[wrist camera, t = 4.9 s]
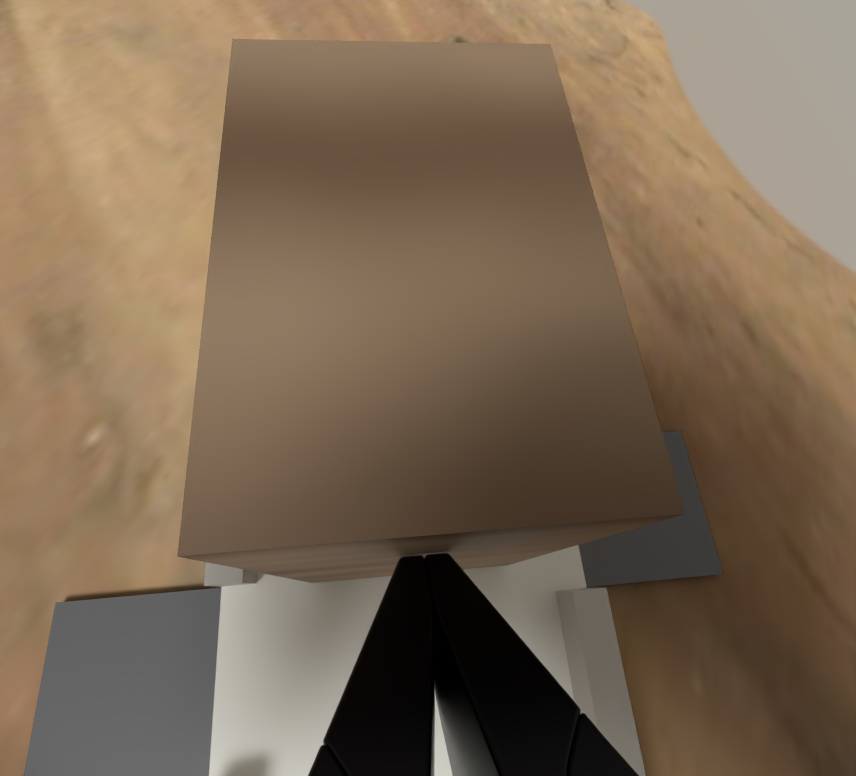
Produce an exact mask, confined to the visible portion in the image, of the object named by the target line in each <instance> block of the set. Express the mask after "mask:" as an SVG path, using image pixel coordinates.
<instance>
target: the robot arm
mask: <svg viewBox="0 0 856 776" xmlns="http://www.w3.org/2000/svg"><path fill="white" fill-rule="evenodd" d="M435 694H436V700H437V706H438V711H439V716H440V720H441V725H442V729H443V734H444V738H445V743H446V748H447V752H448V757H449V761H450V766H451V770H452V775H453V776H639V775H638V774H637V773H636V772H635V770H634V769H633V768H632V767H631V766H630V765H629V764H628V763H627V762H626V760H625V759H624V758H623V757H622V756H621V755H620V754H619V753H618V751H617V750H616V749H615V748H614V747H613V746H612V745H611V744H610V742H609V741H608V740H607V739H606V738H605V737H604V736H603V734H602V733H601V732H600V731H599V730H598V728H597V727H596V726H595V725H594V724H593V723H592V721H591V720H590V719H589V718H588V717H587V715H586V714H585V713H581V714H580V712H581V710H580V708H579V706H578V705H577V704H576V703H575V702H574V700H573V699H572V698H571V697H570V696H569V694H568V693H567V692H566V691H565V690H564V689H563V687H562V686H561V685H560V684H559V683H558V682H557V680H556V679H555V678H554V677H553V676H552V674H551V673H550V672H549V671H548V670H547V669H546V667H545V666H544V665H543V664H542V663H541V661H540V660H539V659H538V658H537V657H536V656H535V654H534V653H533V652H532V651H531V650H530V648H529V647H528V646H527V645H526V644H525V643H524V641H523V640H522V639H521V638H520V637H519V635H518V634H517V633H516V632H515V631H514V630H513V628H512V627H511V626H510V625H509V624H508V623H507V621H506V620H505V619H504V618H503V617H502V615H501V614H500V613H499V612H498V611H497V610H496V608H495V607H494V606H493V605H492V604H491V602H490V601H489V600H488V599H487V598H486V597H485V595H484V594H483V593H482V592H481V591H480V589H479V588H478V587H477V586H476V585H475V584H474V582H473V581H472V580H471V579H470V578H469V576H468V575H467V574H466V573H465V572H464V571H463V569H462V568H461V567H460V566H459V565H458V564H457V562H456V561H455V560H454V559H453V558H452V556H451V555H450V554H448V553H438V554H428V555H426V557H425V559H424V557H423V556H422V555H415V556H403V557H401V558H400V559H399V560H398V563H397V565H396V567H395V570H394V572H393V575H392V577H391V579H390V582H389V584H388V586H387V589H386V591H385V594H384V596H383V598H382V601H381V603H380V606H379V608H378V610H377V613H376V615H375V618H374V620H373V622H372V625H371V627H370V629H369V632H368V634H367V637H366V639H365V641H364V644H363V646H362V649H361V651H360V653H359V656H358V658H357V661H356V663H355V665H354V668H353V670H352V672H351V675H350V677H349V680H348V682H347V684H346V687H345V689H344V692H343V694H342V696H341V699H340V701H339V704H338V706H337V708H336V711H335V713H334V716H333V718H332V720H331V723H330V725H329V727H328V730H327V732H326V735H325V737H324V740H323V744H324V745H322V746H321V747H320V748H319V751H318V753H317V755H316V758H315V760H314V763H313V765H312V767H311V770H310V772H309V774H308V776H434V765H435Z"/></svg>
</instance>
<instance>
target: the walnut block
mask: <svg viewBox="0 0 856 776" xmlns="http://www.w3.org/2000/svg"><path fill="white" fill-rule="evenodd" d="M684 514H686V513H685V510H684V507H683V503H682V500H681V496H680V493H679V489H678V486H677V482H676V479H675V475H674V472H673V468H672V465H671V461H670V458H669V454H668V451H667V447H666V444H665V440H664V437H663V434H662V430H661V427H660V423H659V420H658V416H657V413H656V409H655V406H654V402H653V399H652V395H651V392H650V388H649V385H648V381H647V378H646V374H645V371H644V368H643V364H642V361H641V357H640V354H639V350H638V347H637V343H636V340H635V336H634V333H633V329H632V326H631V322H630V319H629V315H628V312H627V308H626V305H625V301H624V298H623V295H622V291H621V288H620V284H619V281H618V277H617V274H616V270H615V267H614V263H613V260H612V256H611V253H610V249H609V246H608V242H607V239H606V235H605V232H604V229H603V225H602V222H601V218H600V215H599V211H598V208H597V204H596V201H595V197H594V194H593V190H592V187H591V183H590V180H589V176H588V173H587V169H586V166H585V163H584V159H583V156H582V152H581V149H580V145H579V142H578V138H577V135H576V131H575V128H574V124H573V121H572V117H571V114H570V110H569V107H568V103H567V100H566V96H565V93H564V90H563V86H562V83H561V79H560V76H559V72H558V69H557V65H556V62H555V58H554V55H553V51H552V48H551V44H504V43H441V42H378V41H315V40H252V39H232V49H231V58H230V68H229V77H228V87H227V96H226V105H225V115H224V124H223V134H222V143H221V152H220V162H219V171H218V181H217V190H216V200H215V209H214V218H213V228H212V237H211V247H210V256H209V266H208V275H207V284H206V294H205V303H204V313H203V322H202V331H201V341H200V350H199V360H198V369H197V379H196V388H195V397H194V407H193V416H192V426H191V435H190V444H189V454H188V463H187V473H186V482H185V492H184V501H183V510H182V520H181V529H180V539H179V548H178V557H183V558H188V559H193V560H198V561H203V562H208V563H213V564H219V565H224V566H229V567H234V568H239V569H244V570H249V571H254V572H259V573H264V574H269V575H274V576H279V577H284V578H289V579H294V580H299V581H304V582H309V583H317V582H328V581H339V580H350V579H361V578H372V577H383V576H392V575H393V572H394V570H395V567H396V565H397V563H398V560H399V559H400V558H401V557H403V556H415V555H422V556H423V557H424V559H425V557H426V555H428V554H438V553H448V554H450V555H451V556H452V558H453V559H454V560H455V561H456V562H457V564H458V565H459V566H460V567H461V568H462V569H471V568H482V567H493V566H504V565H510V564H514V563H517V562H521V561H524V560H528V559H531V558H535V557H538V556H541V555H545V554H548V553H552V552H555V551H559V550H562V549H566V548H569V547H573V546H576V545H580V544H583V543H587V542H590V541H593V540H597V539H600V538H604V537H607V536H611V535H614V534H618V533H621V532H625V531H628V530H632V529H635V528H639V527H642V526H645V525H649V524H652V523H656V522H659V521H663V520H666V519H670V518H673V517H677V516H680V515H684Z"/></svg>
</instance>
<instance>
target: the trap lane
mask: <svg viewBox="0 0 856 776" xmlns="http://www.w3.org/2000/svg"><path fill="white" fill-rule="evenodd" d="M662 434H663V437H664V440H665V444H666V447H667V451H668V454H669V458H670V461H671V465H672V468H673V472H674V475H675V479H676V482H677V486H678V489H679V493H680V496H681V500H682V503H683V507H684V510H685V513H686V514H684V515H680V516H677V517H673V518H670V519H666V520H663V521H659V522H656V523H652V524H649V525H645V526H642V527H639V528H635V529H632V530H628V531H625V532H621V533H618V534H614V535H611V536H607V537H604V538H600V539H597V540H593V541H590V542H587V543H583V544H580V545H576V546H573V547H569V548H566V549H562V550H559V551H555V552H552V553H548V554H545V555H541V556H538V557H535V558H531V559H528V560H524V561H521V562H517V563H514V564H510V565H504V566H493V567H482V568H471V569H463V571H464V572H465V573H466V574H467V575H468V576H469V578H470V579H471V580H472V581H473V582H474V584H475V585H476V586H477V587H478V588H479V589H480V591H481V592H482V593H483V594H484V595H485V597H486V598H487V599H488V600H489V601H490V602H491V604H492V605H493V606H494V607H495V608H496V610H497V611H498V612H499V613H500V614H501V615H502V617H503V618H504V619H505V620H506V621H507V623H508V624H509V625H510V626H511V627H512V628H513V630H514V631H515V632H516V633H517V634H518V635H519V637H520V638H521V639H522V640H523V641H524V643H525V644H526V645H527V646H528V647H529V648H530V650H531V651H532V652H533V653H534V654H535V656H536V657H537V658H538V659H539V660H540V661H541V663H542V664H543V665H544V666H545V667H546V669H547V670H548V671H549V672H550V673H551V674H552V676H553V677H554V678H555V679H556V680H557V682H558V683H559V684H560V685H561V686H562V687H563V689H564V690H565V691H566V692H567V693H568V694H569V696H570V697H571V698H572V699H573V700H574V702H575V703H576V704H577V705H578V706H579V708H580V710H581V712H580V714H581V713H585V714H586V715H587V717H588V718H589V719H590V720H591V721H592V723H593V724H594V725H595V726H596V727H597V728H598V730H599V731H600V732H601V733H602V734H603V736H604V737H605V738H606V739H607V740H608V741H609V742H610V744H611V745H612V746H613V747H614V748H615V749H616V750H617V751H618V753H619V754H620V755H621V756H622V757H623V758H624V759H625V760H626V762H627V763H628V764H629V765H630V766H631V767H632V768H633V769H634V770H635V772H636V773H637V774H638V775H639V776H646V774H645V769H644V764H643V759H642V755H641V750H640V745H639V740H638V736H637V731H636V726H635V721H634V717H633V712H632V707H631V702H630V697H629V693H628V688H627V683H626V678H625V674H624V669H623V664H622V659H621V655H620V650H619V645H618V640H617V636H616V631H615V626H614V621H613V616H612V612H611V607H610V602H609V597H608V593H607V588H587V587H595V586H605V585H615V584H626V583H636V582H646V581H656V580H666V579H676V578H687V577H697V576H707V575H717V574H723V571H722V567H721V564H720V561H719V557H718V554H717V551H716V547H715V544H714V540H713V537H712V534H711V530H710V527H709V524H708V520H707V517H706V514H705V510H704V507H703V503H702V500H701V497H700V493H699V490H698V487H697V483H696V480H695V476H694V473H693V470H692V466H691V463H690V460H689V456H688V453H687V450H686V446H685V443H684V439H683V436H682V433H681V431H667V432H662ZM391 577H392V576H383V577H372V578H361V579H350V580H339V581H328V582H317V583H309V582H304V581H299V580H294V579H289V578H284V577H279V576H274V575H269V574H264V573H259V572H254V571H249V570H244V569H239V568H234V567H229V566H224V565H219V564H213V563H208V562H206V563H205V575H204V586H216V587H221V588H211V589H200V590H189V591H178V592H168V593H157V594H146V595H135V596H124V597H113V598H102V599H91V600H80V601H69V602H58V603H56V604H55V609H54V615H53V620H52V625H51V631H50V636H49V642H48V647H47V653H46V658H45V663H44V669H43V674H42V680H41V685H40V691H39V696H38V701H37V707H36V712H35V718H34V723H33V729H32V734H31V739H30V745H29V750H28V756H27V761H26V767H25V772H24V776H308V774H309V772H310V770H311V767H312V765H313V763H314V760H315V758H316V755H317V753H318V751H319V748H320V747H321V746H322V745H324V744H323V740H324V737H325V735H326V732H327V730H328V727H329V725H330V723H331V720H332V718H333V716H334V713H335V711H336V708H337V706H338V704H339V701H340V699H341V696H342V694H343V692H344V689H345V687H346V684H347V682H348V680H349V677H350V675H351V672H352V670H353V668H354V665H355V663H356V661H357V658H358V656H359V653H360V651H361V649H362V646H363V644H364V641H365V639H366V637H367V634H368V632H369V629H370V627H371V625H372V622H373V620H374V618H375V615H376V613H377V610H378V608H379V606H380V603H381V601H382V598H383V596H384V594H385V591H386V589H387V586H388V584H389V582H390V579H391ZM434 776H453V775H452V770H451V766H450V761H449V757H448V752H447V748H446V743H445V738H444V734H443V729H442V725H441V720H440V716H439V711H438V706H437V700H436V694H435V765H434Z"/></svg>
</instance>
